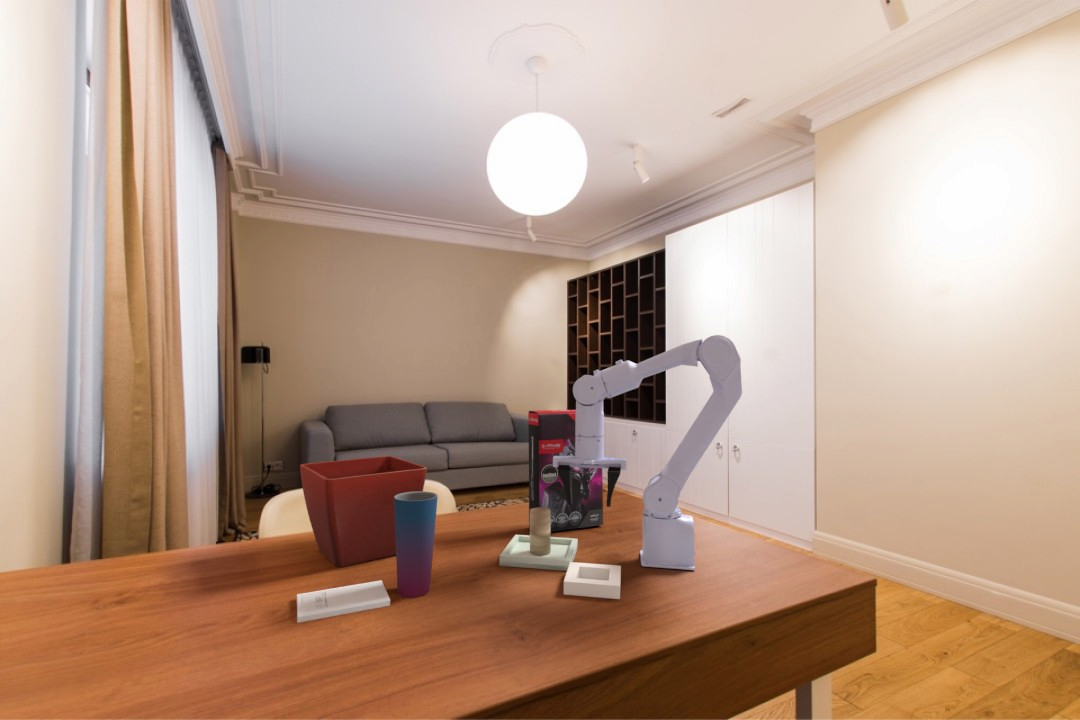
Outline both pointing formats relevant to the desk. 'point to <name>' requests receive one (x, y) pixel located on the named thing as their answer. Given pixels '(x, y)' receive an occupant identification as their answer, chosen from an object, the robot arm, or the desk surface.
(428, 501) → the cup
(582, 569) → the pin holder
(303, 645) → the desk surface
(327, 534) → the plant pot
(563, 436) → the graphics card box
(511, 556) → the tray
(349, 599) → the external hard drive
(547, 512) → the peg
